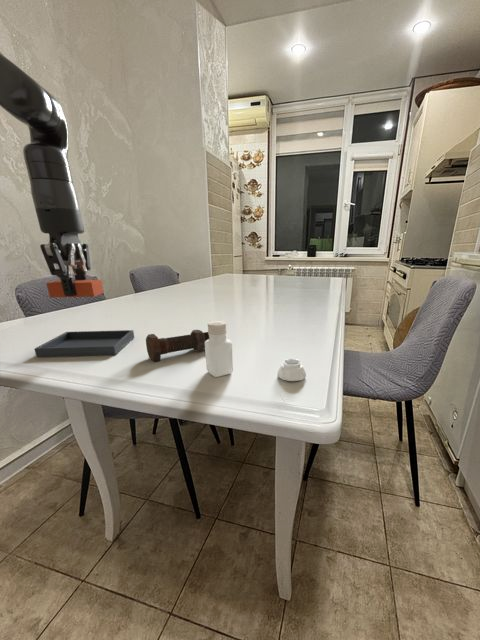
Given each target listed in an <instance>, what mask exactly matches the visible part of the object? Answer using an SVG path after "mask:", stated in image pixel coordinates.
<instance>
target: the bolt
mask: <svg viewBox="0 0 480 640" xmlns="http://www.w3.org/2000/svg"><path fill="white" fill-rule="evenodd" d="M145 337H146V338H145V345H146V352H147V356H148V357H149V360H150V361H151V362H154V363H155V362H160V361H161V357H162V356H163V355H167V354H170V353H175V352H176V353H177V352H181V351H182V352H183V351H187V350H191V349H192V350H193V351H195V352H203V351H205V341H206V340H208V339H209V334H208V331H203V330H200V329H193V330H191V332H190V333H189V334H184V335H178V336H170V337H160V338H159V336H157V335H156V334H155V333H149V334H147V335H146V336H145Z"/></svg>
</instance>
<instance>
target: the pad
mask: <svg viewBox="0 0 480 640" xmlns="http://www.w3.org/2000/svg"><path fill="white" fill-rule="evenodd" d="M45 284H46V288H47V292H48V296H49V298H94V297H97V296H99V295H102V294H104V293H105V291H104V286H103V281H102V279H87V280H75V279H74V284H75V288H76V293H77V294H76V295H75V296H65V295H64V291H63V287H62V283H61V279H58V280H54V281H50V282H46V283H45Z"/></svg>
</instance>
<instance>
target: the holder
mask: <svg viewBox="0 0 480 640" xmlns="http://www.w3.org/2000/svg"><path fill="white" fill-rule="evenodd" d="M134 339H135V331H134V329H129V330H128V329H125V330H124V329H121V330H88V331H87V330H85V331H84V330H83V331H82V330H81V331H65V332H64V333H61V334H60V335H58V336H55V337H54V338H52V339H50V340H48V341H46V342H44V343H42V344H40V345H39V346H37V347H35V348H33V349H34V353H35V356H36V358H60V357H61V358H62V357H63V358H65V357H66V358H67V357H93V356H95V357H96V356H98V357H99V356H116V355H118V354H119V353H120V352H121V351H122V350H123V349H124V348H125V347H126V346H127V345H128V344H130V342H132V341H133V340H134Z"/></svg>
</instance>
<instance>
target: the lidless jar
mask: <svg viewBox="0 0 480 640" xmlns="http://www.w3.org/2000/svg"><path fill="white" fill-rule="evenodd" d="M277 377H278V378H279V379H281V380H284V381H288V382H298V381H302V380H304V379H305V378H306V377H307V373H306V370H305V368H304V366H303V365H302V363H301V360H299V359H297V358H286V359H284V360H283V362H282V364H280V366H279V368H278V370H277Z"/></svg>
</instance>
